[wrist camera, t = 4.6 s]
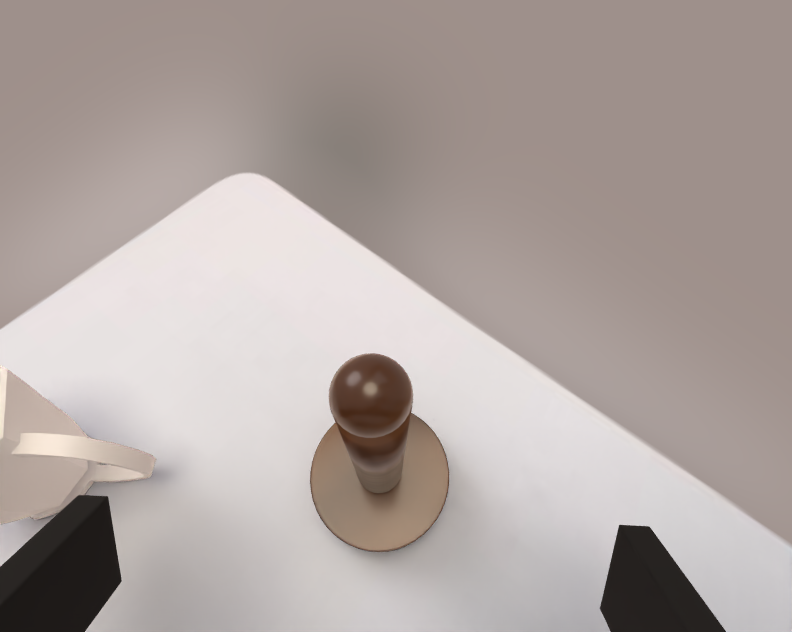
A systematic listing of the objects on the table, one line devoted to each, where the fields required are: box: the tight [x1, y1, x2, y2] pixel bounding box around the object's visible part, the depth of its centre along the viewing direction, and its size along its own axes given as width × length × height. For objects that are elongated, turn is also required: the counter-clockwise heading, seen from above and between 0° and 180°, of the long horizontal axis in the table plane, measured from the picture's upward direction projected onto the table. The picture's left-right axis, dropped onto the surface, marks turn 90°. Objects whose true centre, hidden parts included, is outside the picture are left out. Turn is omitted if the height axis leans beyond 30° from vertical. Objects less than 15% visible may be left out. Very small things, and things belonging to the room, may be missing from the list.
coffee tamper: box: [310, 353, 449, 552], centre depth 16 cm, size 6×6×14 cm
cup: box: [0, 365, 156, 524], centre depth 18 cm, size 7×10×8 cm
